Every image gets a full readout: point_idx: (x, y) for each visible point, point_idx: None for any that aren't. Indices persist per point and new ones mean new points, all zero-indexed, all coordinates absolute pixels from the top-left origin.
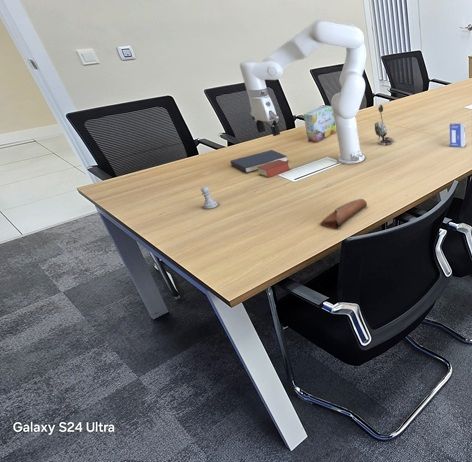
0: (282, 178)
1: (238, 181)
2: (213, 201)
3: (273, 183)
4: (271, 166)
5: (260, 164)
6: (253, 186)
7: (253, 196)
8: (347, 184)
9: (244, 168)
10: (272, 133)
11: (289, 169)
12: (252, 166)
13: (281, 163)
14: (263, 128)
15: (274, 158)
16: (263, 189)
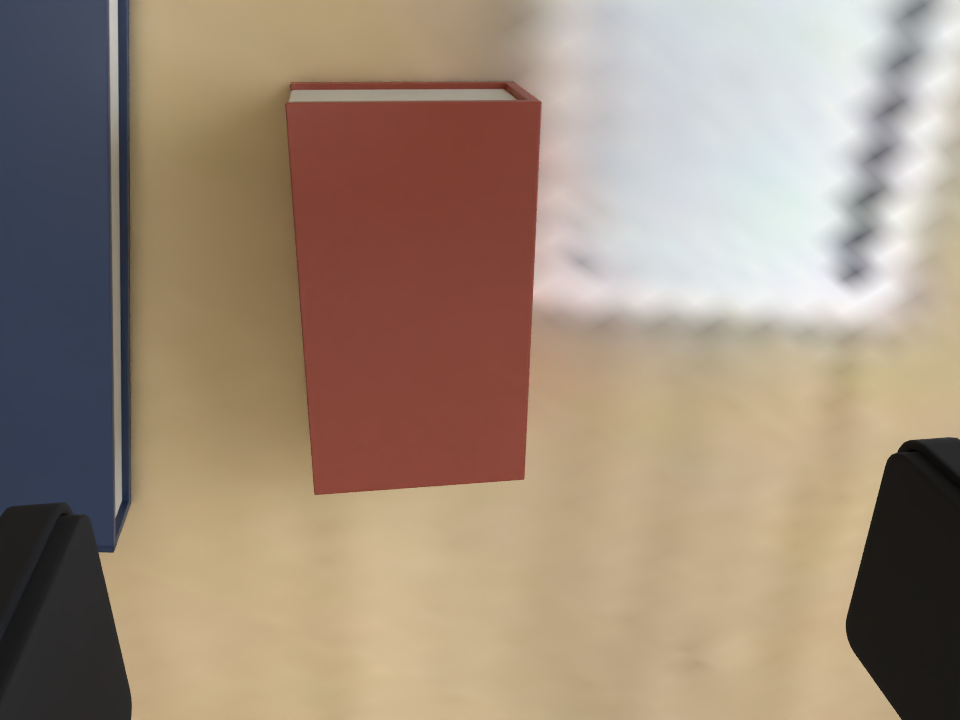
0: (681, 341)
1: (310, 654)
2: None
3: (701, 478)
4: (476, 371)
5: (107, 328)
6: (575, 625)
7: (763, 714)
8: None
9: (100, 545)
10: (907, 704)
11: (514, 83)
12: (109, 447)
13: (500, 205)
14: (61, 638)
15: (41, 34)
16: (726, 605)
